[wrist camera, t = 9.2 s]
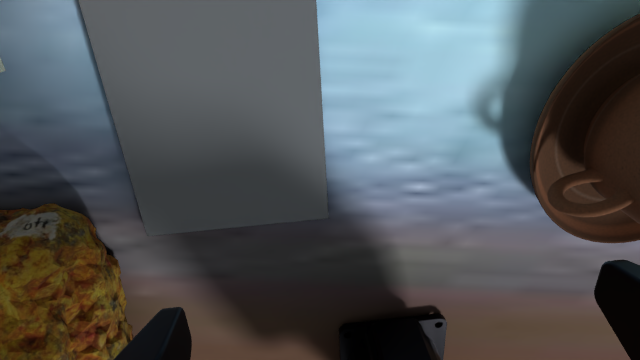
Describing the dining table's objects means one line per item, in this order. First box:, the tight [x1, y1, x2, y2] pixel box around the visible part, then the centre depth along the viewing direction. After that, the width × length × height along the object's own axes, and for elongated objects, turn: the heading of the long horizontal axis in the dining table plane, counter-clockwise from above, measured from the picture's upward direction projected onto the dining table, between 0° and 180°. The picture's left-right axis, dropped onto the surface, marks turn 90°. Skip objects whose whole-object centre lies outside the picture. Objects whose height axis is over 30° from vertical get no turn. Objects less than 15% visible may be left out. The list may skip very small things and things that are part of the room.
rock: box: [0, 203, 133, 360], centre depth 20 cm, size 12×9×11 cm
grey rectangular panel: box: [78, 0, 329, 236], centre depth 19 cm, size 12×9×1 cm
